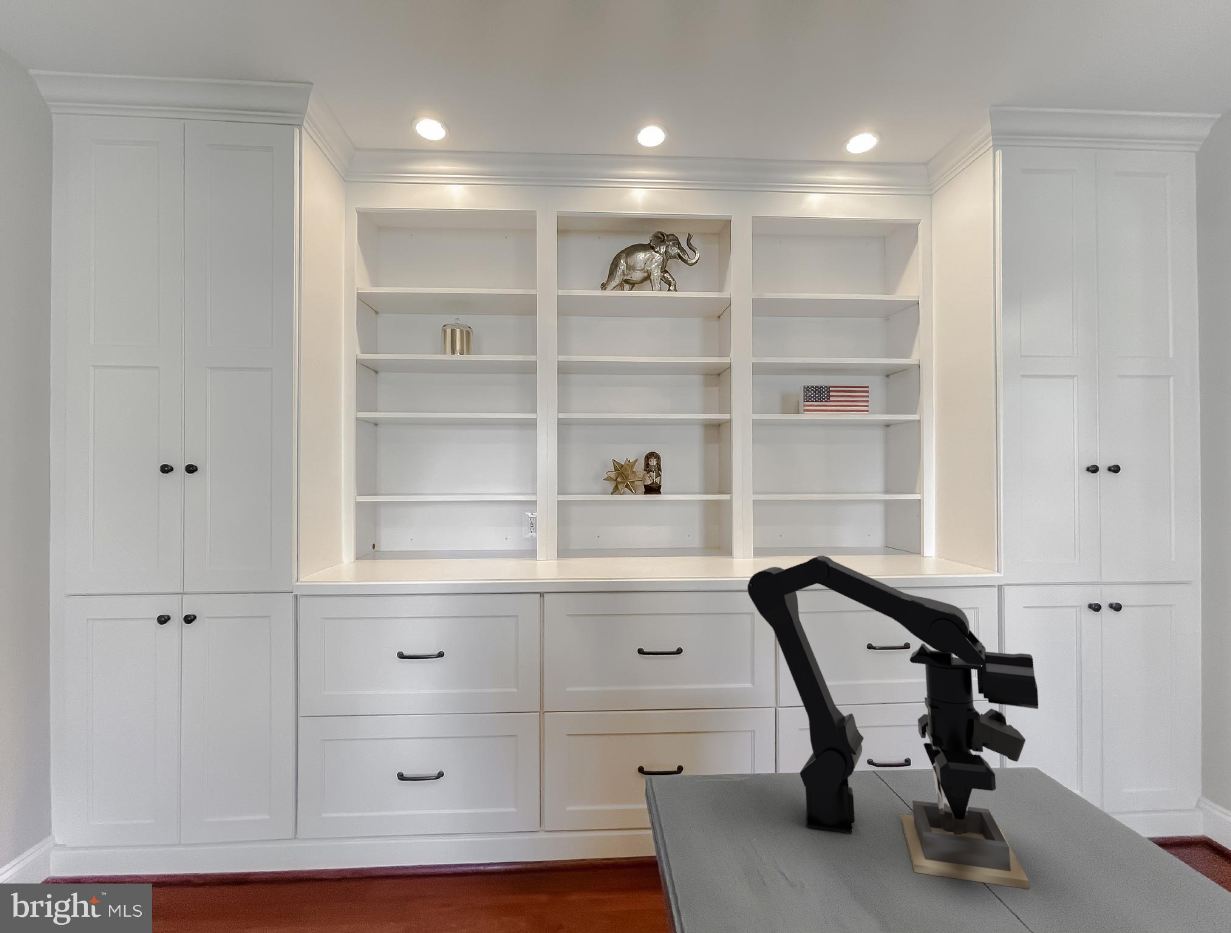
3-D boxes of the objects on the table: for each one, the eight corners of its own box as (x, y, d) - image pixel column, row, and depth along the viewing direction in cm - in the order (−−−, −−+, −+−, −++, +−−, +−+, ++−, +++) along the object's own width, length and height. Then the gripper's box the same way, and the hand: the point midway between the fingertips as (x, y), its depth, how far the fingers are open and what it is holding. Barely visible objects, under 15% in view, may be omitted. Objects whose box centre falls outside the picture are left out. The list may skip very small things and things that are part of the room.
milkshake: (985, 840, 81) (980, 764, 82) (941, 837, 82) (937, 761, 83) (972, 822, 86) (968, 750, 86) (931, 819, 87) (927, 748, 87)
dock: (914, 872, 80) (912, 840, 80) (901, 821, 92) (899, 794, 92) (1029, 889, 76) (1027, 856, 76) (999, 833, 88) (997, 805, 88)
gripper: (1040, 726, 73) (1048, 859, 73) (996, 681, 91) (1002, 787, 90) (937, 718, 77) (944, 845, 76) (915, 676, 95) (920, 778, 94)
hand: (955, 811), depth 84 cm, fingers closed on milkshake, 4 cm apart
